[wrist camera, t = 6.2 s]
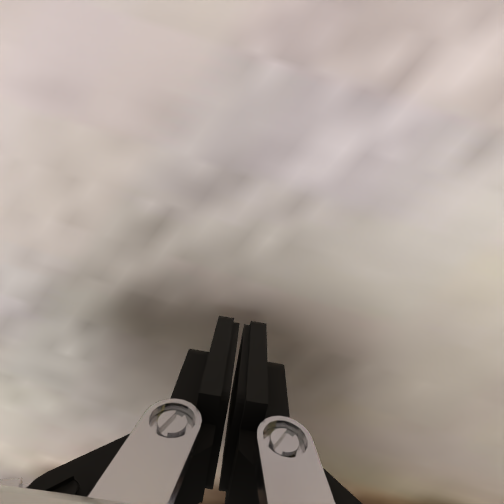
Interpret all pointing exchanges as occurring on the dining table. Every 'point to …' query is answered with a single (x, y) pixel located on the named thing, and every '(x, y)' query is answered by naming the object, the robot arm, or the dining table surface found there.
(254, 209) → the dining table surface
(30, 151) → the dining table surface
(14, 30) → the dining table surface
